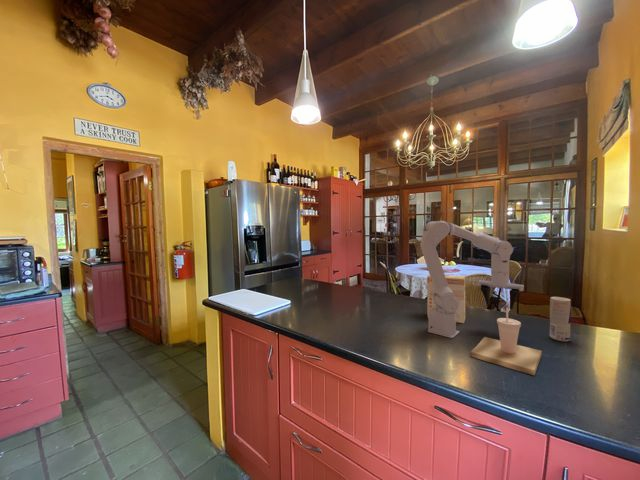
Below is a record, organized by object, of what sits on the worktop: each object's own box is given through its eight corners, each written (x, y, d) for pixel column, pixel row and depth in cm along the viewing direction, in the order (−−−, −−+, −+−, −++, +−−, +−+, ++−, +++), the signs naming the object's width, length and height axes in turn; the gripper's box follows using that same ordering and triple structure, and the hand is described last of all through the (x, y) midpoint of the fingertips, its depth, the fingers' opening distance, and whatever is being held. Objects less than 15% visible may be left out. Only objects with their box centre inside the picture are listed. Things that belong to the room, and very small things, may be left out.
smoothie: (491, 346, 89) (492, 305, 88) (508, 345, 89) (509, 304, 89) (507, 356, 82) (508, 311, 81) (526, 354, 83) (526, 310, 82)
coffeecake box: (465, 318, 120) (465, 275, 119) (464, 323, 114) (464, 278, 113) (430, 313, 128) (430, 273, 127) (427, 318, 122) (427, 275, 121)
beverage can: (574, 342, 94) (575, 300, 93) (555, 341, 95) (556, 300, 94) (563, 336, 99) (564, 296, 99) (545, 335, 100) (546, 296, 100)
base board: (470, 356, 85) (470, 351, 85) (484, 340, 97) (484, 336, 97) (534, 375, 74) (534, 370, 74) (541, 355, 85) (541, 350, 85)
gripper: (525, 272, 100) (524, 307, 101) (481, 268, 110) (481, 300, 111) (521, 274, 95) (521, 312, 96) (476, 270, 106) (476, 304, 106)
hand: (499, 306), depth 103 cm, fingers open, 7 cm apart
